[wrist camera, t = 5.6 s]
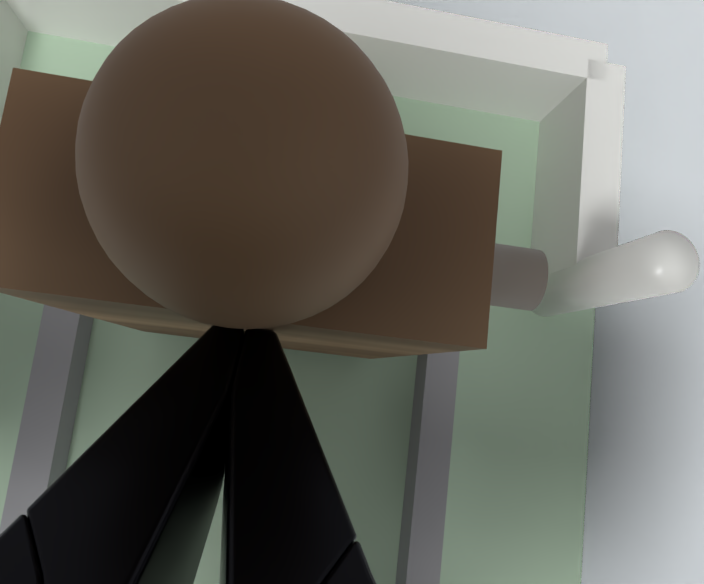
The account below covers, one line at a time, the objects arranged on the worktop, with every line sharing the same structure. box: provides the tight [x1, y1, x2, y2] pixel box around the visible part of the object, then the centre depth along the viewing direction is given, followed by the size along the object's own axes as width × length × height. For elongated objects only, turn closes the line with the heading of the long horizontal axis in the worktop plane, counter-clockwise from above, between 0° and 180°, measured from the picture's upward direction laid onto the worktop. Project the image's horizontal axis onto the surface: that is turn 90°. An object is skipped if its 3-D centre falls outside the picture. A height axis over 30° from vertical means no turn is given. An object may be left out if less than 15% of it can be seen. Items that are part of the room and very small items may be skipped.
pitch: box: [0, 31, 595, 584], centre depth 14 cm, size 24×18×2 cm
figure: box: [0, 0, 548, 359], centre depth 9 cm, size 4×8×11 cm, turn 84°
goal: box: [0, 0, 699, 317], centre depth 13 cm, size 7×16×5 cm, turn 83°
